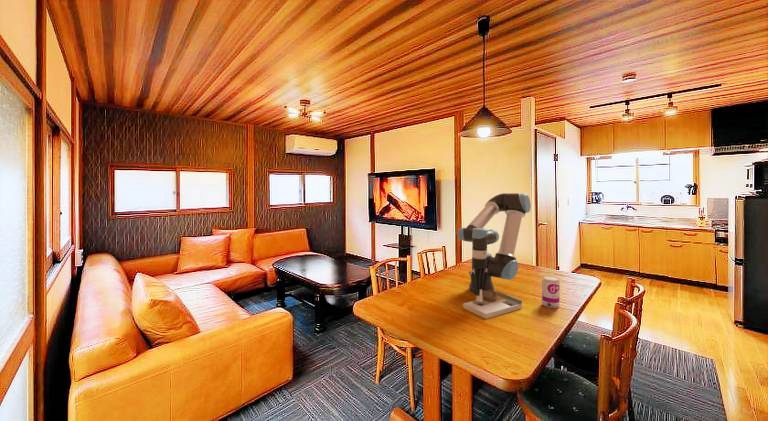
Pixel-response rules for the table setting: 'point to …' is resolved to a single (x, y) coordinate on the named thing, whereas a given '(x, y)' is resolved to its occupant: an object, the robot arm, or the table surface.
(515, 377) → the table surface
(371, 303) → the table surface
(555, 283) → the soda can
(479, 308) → the box
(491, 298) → the block
